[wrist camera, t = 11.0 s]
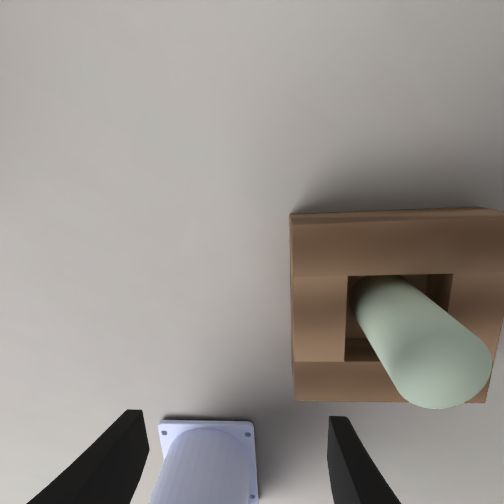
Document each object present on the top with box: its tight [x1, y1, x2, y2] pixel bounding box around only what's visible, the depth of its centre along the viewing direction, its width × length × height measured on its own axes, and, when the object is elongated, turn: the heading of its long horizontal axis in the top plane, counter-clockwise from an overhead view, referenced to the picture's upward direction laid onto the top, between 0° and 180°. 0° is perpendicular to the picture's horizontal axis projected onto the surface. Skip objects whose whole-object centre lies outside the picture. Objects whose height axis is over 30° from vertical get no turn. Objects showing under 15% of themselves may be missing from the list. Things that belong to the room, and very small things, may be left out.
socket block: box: [289, 207, 504, 403], centre depth 18 cm, size 12×12×4 cm
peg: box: [350, 275, 492, 409], centre depth 16 cm, size 4×4×7 cm
